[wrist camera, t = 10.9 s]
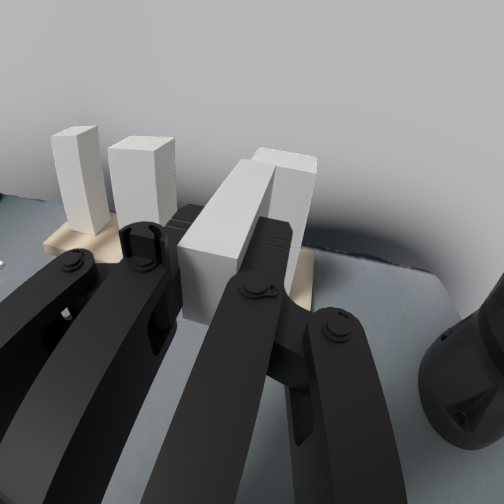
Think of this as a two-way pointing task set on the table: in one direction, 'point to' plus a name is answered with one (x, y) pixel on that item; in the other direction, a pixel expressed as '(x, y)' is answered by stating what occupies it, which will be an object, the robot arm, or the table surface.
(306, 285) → the key base
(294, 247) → the tile
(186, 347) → the table surface
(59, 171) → the tile
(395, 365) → the table surface
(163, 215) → the white tall block
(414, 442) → the table surface
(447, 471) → the table surface
